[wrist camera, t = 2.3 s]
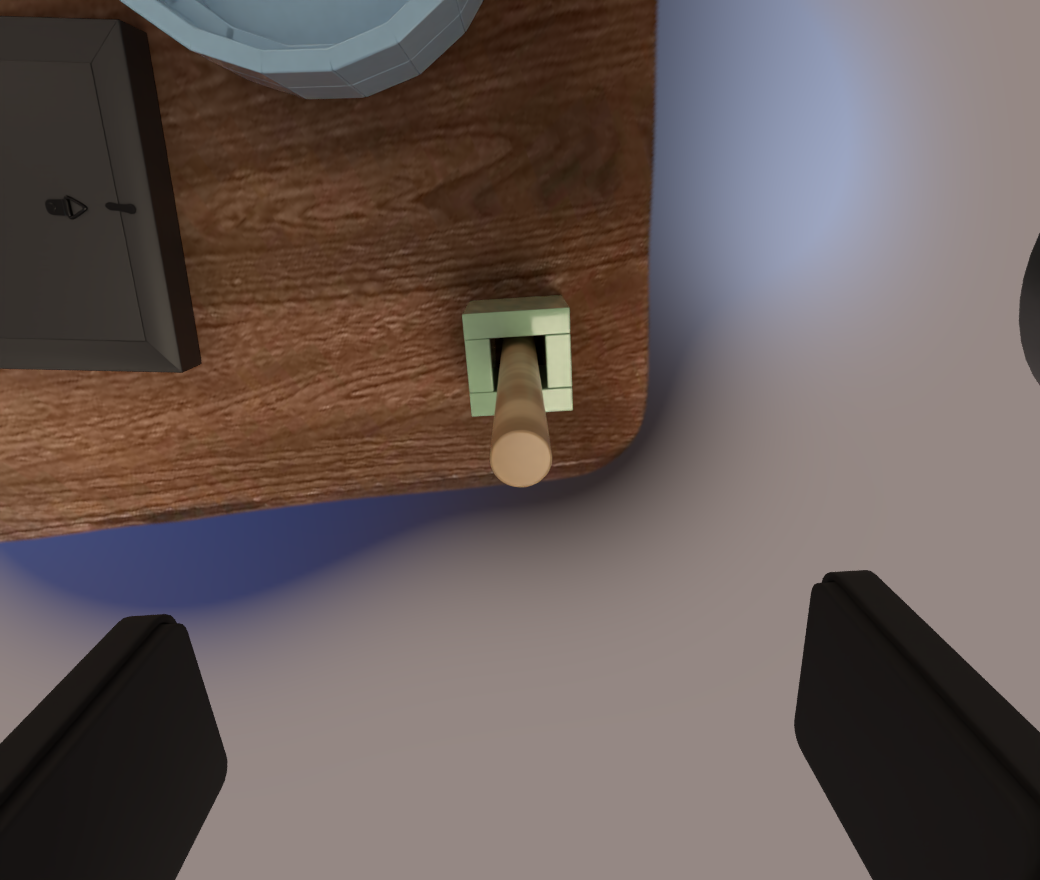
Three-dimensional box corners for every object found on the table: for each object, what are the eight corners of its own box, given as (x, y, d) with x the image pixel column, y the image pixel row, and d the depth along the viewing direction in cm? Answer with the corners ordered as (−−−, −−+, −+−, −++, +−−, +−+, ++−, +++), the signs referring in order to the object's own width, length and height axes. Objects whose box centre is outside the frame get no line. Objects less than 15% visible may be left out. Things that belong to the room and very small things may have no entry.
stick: (514, 320, 32) (512, 418, 16) (541, 339, 33) (564, 451, 17) (496, 347, 33) (477, 467, 17) (522, 365, 33) (528, 499, 17)
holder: (469, 300, 32) (461, 314, 27) (561, 294, 32) (569, 307, 27) (477, 389, 34) (471, 417, 29) (565, 384, 34) (573, 410, 29)
